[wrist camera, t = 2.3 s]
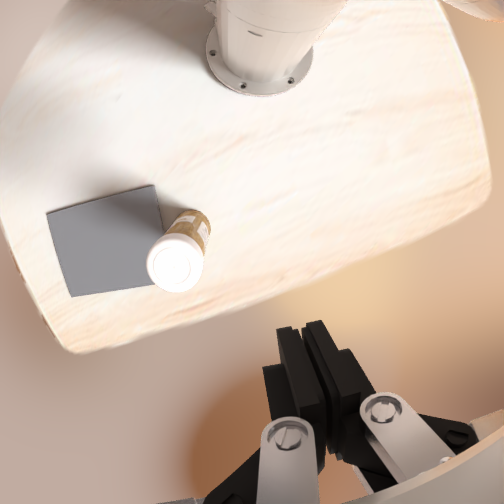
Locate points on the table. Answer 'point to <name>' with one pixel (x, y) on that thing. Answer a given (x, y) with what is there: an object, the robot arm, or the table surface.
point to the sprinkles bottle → (179, 253)
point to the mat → (107, 241)
